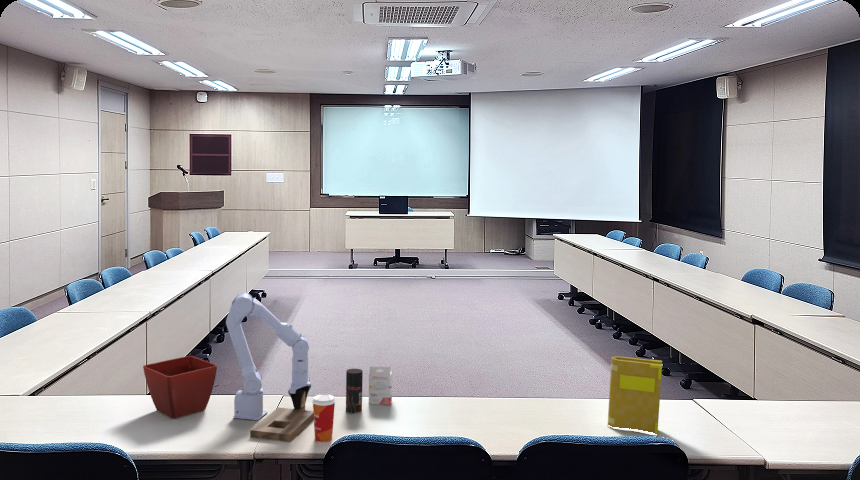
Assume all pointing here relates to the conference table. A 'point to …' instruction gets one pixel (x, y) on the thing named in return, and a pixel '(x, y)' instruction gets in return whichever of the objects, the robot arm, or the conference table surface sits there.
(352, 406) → the deodorant
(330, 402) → the paper cup
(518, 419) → the conference table surface
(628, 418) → the book
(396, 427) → the conference table surface
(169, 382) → the plant pot
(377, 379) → the ink cartridge box
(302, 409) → the peg
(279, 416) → the socket board
